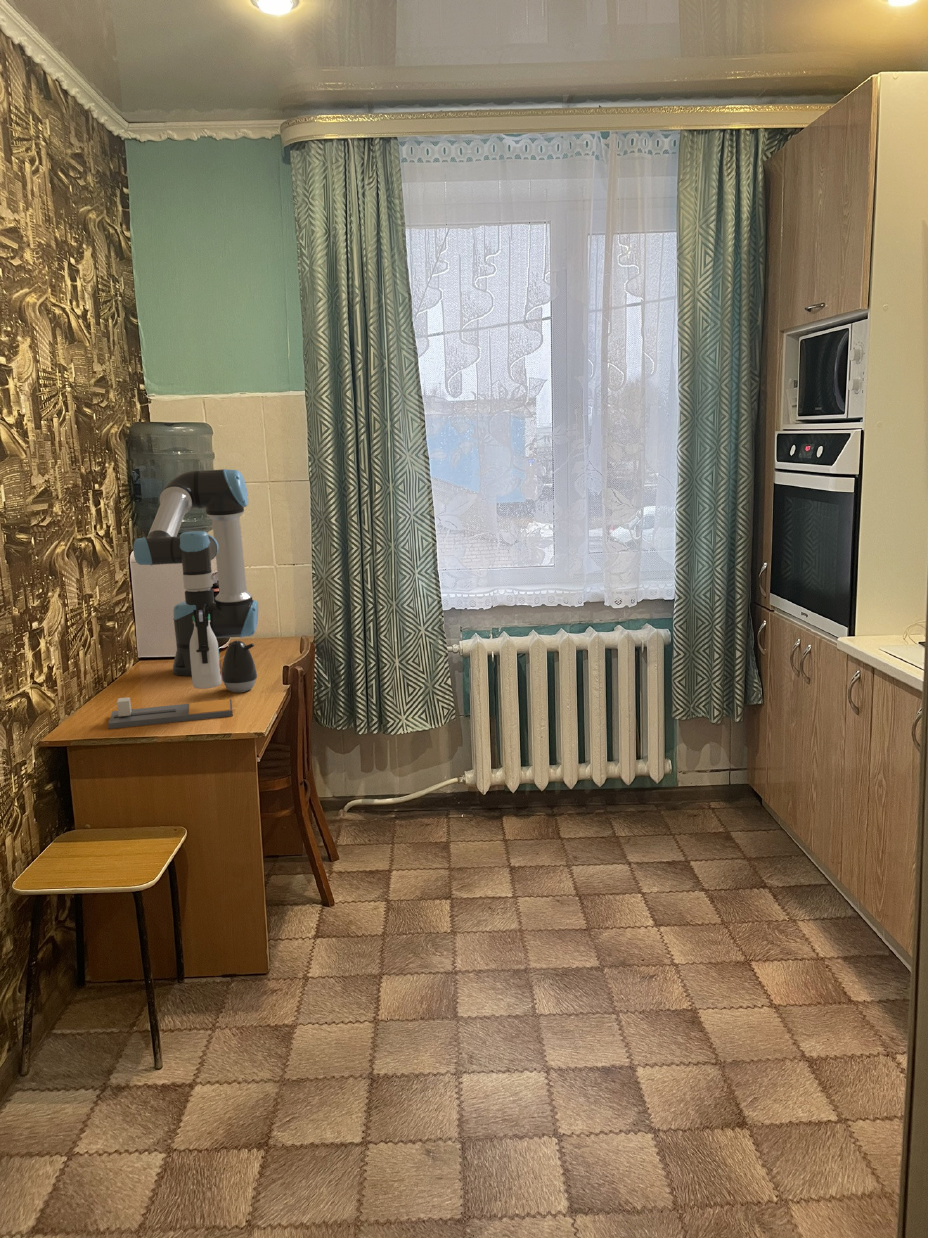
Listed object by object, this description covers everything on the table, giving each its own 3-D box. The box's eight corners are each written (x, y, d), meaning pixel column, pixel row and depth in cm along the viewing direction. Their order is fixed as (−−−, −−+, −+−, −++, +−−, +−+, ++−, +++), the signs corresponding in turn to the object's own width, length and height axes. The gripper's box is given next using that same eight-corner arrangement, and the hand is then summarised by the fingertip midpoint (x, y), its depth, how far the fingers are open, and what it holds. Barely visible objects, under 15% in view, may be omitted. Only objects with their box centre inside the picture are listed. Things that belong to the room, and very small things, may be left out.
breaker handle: (119, 712, 264) (118, 698, 263) (131, 711, 265) (129, 697, 264) (118, 716, 260) (116, 702, 260) (130, 715, 261) (128, 701, 260)
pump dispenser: (250, 695, 285) (246, 644, 282) (217, 694, 287) (212, 644, 284) (264, 686, 294) (260, 637, 291) (232, 685, 296) (228, 636, 293)
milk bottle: (220, 688, 264) (214, 616, 260) (191, 690, 262) (184, 617, 259) (222, 681, 271) (216, 611, 267) (194, 683, 270) (187, 612, 266)
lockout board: (113, 716, 268) (112, 710, 268) (231, 704, 275) (231, 698, 275) (108, 728, 256) (108, 722, 256) (232, 715, 264) (232, 709, 264)
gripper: (213, 593, 253) (220, 678, 257) (213, 582, 272) (220, 661, 277) (183, 595, 251) (191, 681, 255) (185, 584, 270) (192, 664, 275)
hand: (206, 671), depth 266 cm, fingers closed on milk bottle, 8 cm apart
